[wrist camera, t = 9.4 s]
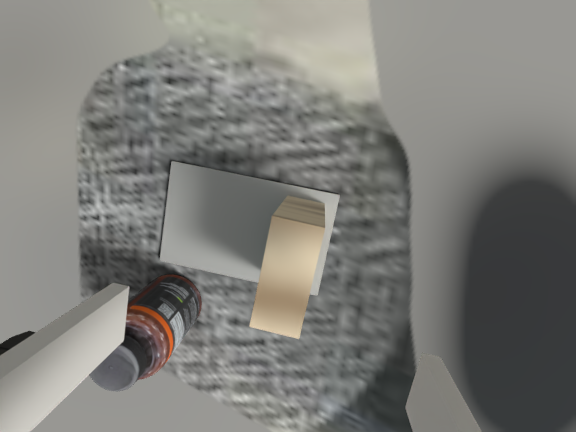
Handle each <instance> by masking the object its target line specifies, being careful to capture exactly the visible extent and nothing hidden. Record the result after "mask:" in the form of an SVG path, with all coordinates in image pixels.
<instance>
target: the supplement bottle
mask: <svg viewBox="0 0 576 432" xmlns="http://www.w3.org/2000/svg"><path fill="white" fill-rule="evenodd" d="M201 305H202V302H201V296H200V293H199V291H198V290H197V288H196V287H195V285H194V284H193V283H192V282H190V281H189V280H188V279H186V278H184V277H182V276H179V275H164V276H160V277H158V278H157V279H155V280H154V281H152V282H151V283H150V284H148V285H147V286H146V287H145V288H143V289H142V290H141V291H140V292H138V293H137V294H136V295H135V296H133V297H132V298H131V299H130V300H129V301H128V305H127V315H126V325H125V335H124V341H123V342H122V343H121V344H120V345H119V346H118V347H117V348H116V349H115V350H114V351H113V352H112V353H111V354H110V355H109V356H108V357H107V358H106V359H105V360H104V361H102V362H101V363H100V364H99V365H98V366H97V367H96V368H95V369H94V370H93V371H92V372H91V373H90V374H89V375H90V377H91V378H92V380H93V381H94V382H95V383H96V384H98V385H99V386H100V387H102V388H104V389H106V390H110V391H123V390H126V389H128V388H130V387H131V386H132V385H134V383H135V382H136V381H137V380H139V379H144V378H147V377H150V376H152V375H153V374H155V373H156V372H158V371H159V370H160V369H161V368H162V367H163V365H164V364H165V363H166V362H167V360H168V359H169V358H170V356H171V355H172V353H173V352H174V350H175V349H176V348H177V346H178V345H179V343H180V342H181V341H182V339H183V338H184V336H185V335H186V334H187V332H188V331H189V329H190V328H191V327H192V325H193V324H194V322H195V321H196V319H197V318H198V316H199V314H200V311H201Z"/></svg>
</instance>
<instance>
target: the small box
mask: <svg viewBox="0 0 576 432" xmlns="http://www.w3.org/2000/svg"><path fill="white" fill-rule="evenodd" d="M324 232H325V204H324V203H320V202H315V201H311V200H306V199H302V198H297V197H293V196H287V197H286V198H285V199H284V201H283V202H282V203H281V205H280V206H279V207H278V209H277V210H276V211H275V213H274V214H273V215H272V218H271V223H270V227H269V232H268V237H267V242H266V247H265V252H264V257H263V262H262V267H261V272H260V277H259V282H258V287H257V291H256V296H255V301H254V306H253V311H252V316H251V322H250V327H252V328H256V329H260V330H265V331H269V332H273V333H277V334H281V335H285V336H289V337H293V338H297V339H299V337H300V332H301V328H302V324H303V320H304V316H305V311H306V307H307V303H308V299H309V295H310V290H311V286H312V282H313V278H314V274H315V269H316V265H317V261H318V257H319V253H320V248H321V244H322V240H323V236H324Z"/></svg>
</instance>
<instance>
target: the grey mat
mask: <svg viewBox="0 0 576 432" xmlns="http://www.w3.org/2000/svg"><path fill="white" fill-rule="evenodd" d="M287 196H293V197H297V198H302V199H306V200H311V201H315V202H320V203H324V204H325V232H324V236H323V240H322V244H321V248H320V253H319V257H318V261H317V265H316V269H315V274H314V278H313V282H312V286H311V290H310V294H312V295H318V291H319V286H320V282H321V277H322V273H323V268H324V264H325V259H326V255H327V250H328V246H329V241H330V237H331V233H332V228H333V224H334V219H335V215H336V210H337V206H338V201H339V197H340V195H339V194H334V193H329V192H324V191H319V190H314V189H309V188H304V187H299V186H294V185H289V184H284V183H280V182H275V181H270V180H265V179H260V178H255V177H250V176H245V175H240V174H235V173H230V172H225V171H220V170H215V169H210V168H205V167H201V166H196V165H191V164H186V163H181V162H176V161H171V170H170V178H169V186H168V195H167V203H166V212H165V220H164V228H163V237H162V245H161V254H160V261H163V262H167V263H172V264H176V265H181V266H186V267H190V268H195V269H199V270H204V271H208V272H213V273H217V274H222V275H226V276H231V277H235V278H240V279H244V280H249V281H253V282H259V277H260V272H261V267H262V262H263V257H264V252H265V247H266V242H267V237H268V232H269V227H270V223H271V218H272V215H273V214H274V213H275V211H276V210H277V209H278V207H279V206H280V205H281V203H282V202H283V201H284V199H285V198H286V197H287Z"/></svg>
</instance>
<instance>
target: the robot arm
mask: <svg viewBox="0 0 576 432" xmlns="http://www.w3.org/2000/svg"><path fill="white" fill-rule="evenodd" d="M128 295H129V286H126V285H121V284H117V283H112V284H110V285H109V286H107V287H106V288H104V289H103V290H101V291H99V292H98V293H96V294H95V295H93V296H92V297H90V298H89V299H87V300H86V301H84V302H82V303H81V304H79V305H78V306H76V307H75V308H73V309H72V310H70V311H69V312H67V313H65V314H64V315H62V316H61V317H59V318H58V319H56V320H55V321H53V322H51V323H50V324H48V325H47V326H45V327H44V328H42V329H41V330H39V331H38V332H31V331H28V332H25V333H22V334H19V335H16V336H14V337H11V338H9V339H8V340H6V341H4V342H3V343H2V344H0V432H30V431H31V430H33V429H34V427H36V426H37V425H38V424H39V423H40V422H41V421H42V420H43V419H44V418H45V417H46V416H47V415H48V414H49V413H50V412H51V411H52V410H53V409H54V408H55V407H56V406H57V405H58V404H59V403H60V402H61V401H62V400H63V399H64V398H65V397H66V396H67V395H69V394H70V393H71V392H72V391H73V390H74V389H75V388H76V387H77V386H78V385H79V384H80V383H81V382H82V381H83V380H84V379H85V378H86V377H87V376H88V375H89V374H90V373H91V372H92V371H93V370H94V369H95V368H96V367H97V366H98V365H99V364H100V363H101V362H102V361H104V360H105V359H106V358H107V357H108V356H109V355H110V354H111V353H112V352H113V351H114V350H115V349H116V348H117V347H118V346H119V345H120V344H121V343H122V342H123V341H124V335H125V325H126V315H127V305H128ZM405 408H406V411H407V414H408V417H409V421H410V424H411V427H412V430H413V432H481V430H480V428H479V426H478V424H477V423H476V421H475V419H474V417H473V415H472V414H471V412H470V410H469V408H468V406H467V405H466V403H465V401H464V399H463V397H462V395H461V394H460V392H459V390H458V388H457V386H456V385H455V383H454V381H453V379H452V377H451V376H450V374H449V372H448V370H447V369H446V367H445V365H444V363H443V361H442V360H441V358H440V357H438V356H434V355H429V354H425V353H422V355H421V358H420V361H419V364H418V368H417V371H416V374H415V377H414V381H413V384H412V387H411V391H410V394H409V397H408V400H407V404H406V407H405Z"/></svg>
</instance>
